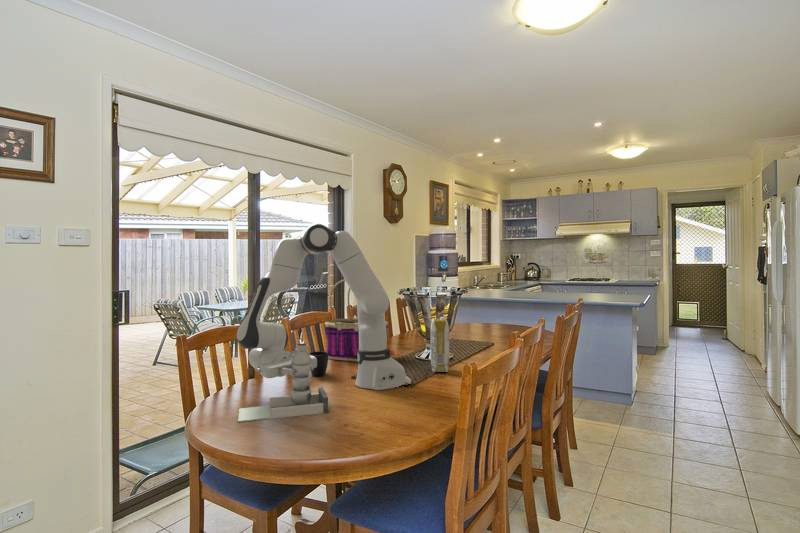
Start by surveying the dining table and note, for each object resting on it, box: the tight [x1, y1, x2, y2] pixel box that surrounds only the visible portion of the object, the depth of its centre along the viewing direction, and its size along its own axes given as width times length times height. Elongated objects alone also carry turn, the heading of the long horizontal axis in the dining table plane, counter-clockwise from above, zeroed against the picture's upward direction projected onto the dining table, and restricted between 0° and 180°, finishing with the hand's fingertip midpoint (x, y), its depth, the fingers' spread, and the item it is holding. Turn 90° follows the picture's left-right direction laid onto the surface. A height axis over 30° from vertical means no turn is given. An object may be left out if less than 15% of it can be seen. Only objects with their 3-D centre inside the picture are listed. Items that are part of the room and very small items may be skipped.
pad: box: [237, 404, 272, 423], centre depth 149 cm, size 10×12×1 cm
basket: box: [324, 278, 389, 363], centre depth 229 cm, size 31×20×40 cm, turn 69°
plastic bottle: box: [290, 343, 312, 405], centre depth 153 cm, size 6×7×20 cm
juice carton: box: [430, 316, 450, 372], centre depth 202 cm, size 9×8×24 cm
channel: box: [269, 386, 329, 420], centre depth 153 cm, size 18×12×5 cm
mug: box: [308, 350, 329, 378], centre depth 198 cm, size 8×12×10 cm
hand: (302, 370), depth 152 cm, fingers closed on plastic bottle, 6 cm apart
